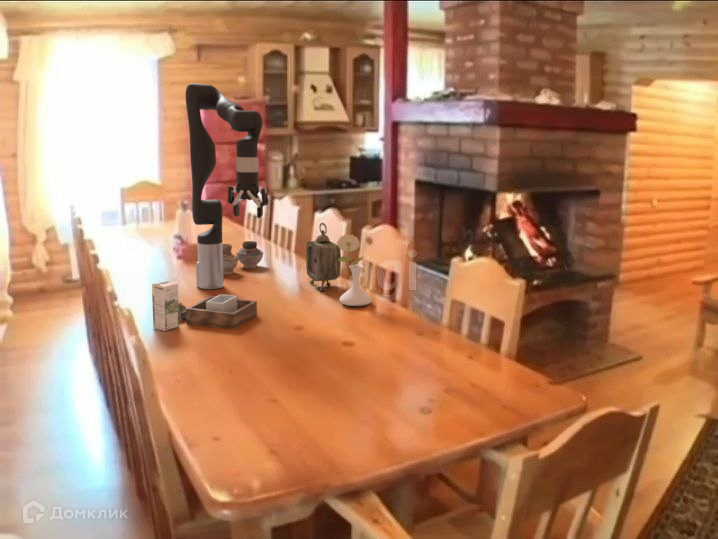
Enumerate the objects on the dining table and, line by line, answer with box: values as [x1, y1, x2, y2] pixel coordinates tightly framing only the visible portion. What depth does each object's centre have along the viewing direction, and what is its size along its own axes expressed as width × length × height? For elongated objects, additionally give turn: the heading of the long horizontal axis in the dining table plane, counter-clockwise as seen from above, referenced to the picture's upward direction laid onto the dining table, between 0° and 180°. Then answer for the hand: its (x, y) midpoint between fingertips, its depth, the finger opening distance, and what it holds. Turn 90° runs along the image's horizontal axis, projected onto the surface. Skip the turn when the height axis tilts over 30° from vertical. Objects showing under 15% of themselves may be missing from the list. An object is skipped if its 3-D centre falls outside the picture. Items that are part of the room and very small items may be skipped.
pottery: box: [222, 240, 264, 276], centre depth 307 cm, size 11×25×12 cm, turn 148°
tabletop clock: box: [305, 222, 342, 292], centre depth 280 cm, size 14×9×25 cm, turn 23°
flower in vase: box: [336, 234, 373, 307], centre depth 258 cm, size 13×11×25 cm
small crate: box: [206, 293, 238, 313], centre depth 239 cm, size 6×10×6 cm, turn 163°
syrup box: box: [151, 280, 180, 332], centre depth 229 cm, size 6×6×14 cm
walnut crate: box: [185, 295, 258, 330], centre depth 239 cm, size 17×16×5 cm
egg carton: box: [179, 302, 187, 322], centre depth 240 cm, size 11×8×4 cm
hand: (248, 216), depth 256 cm, fingers open, 8 cm apart
